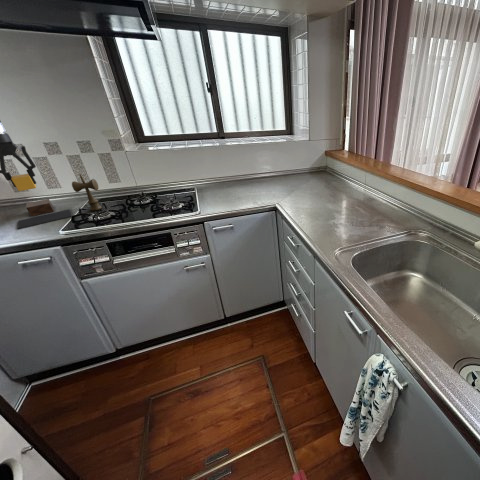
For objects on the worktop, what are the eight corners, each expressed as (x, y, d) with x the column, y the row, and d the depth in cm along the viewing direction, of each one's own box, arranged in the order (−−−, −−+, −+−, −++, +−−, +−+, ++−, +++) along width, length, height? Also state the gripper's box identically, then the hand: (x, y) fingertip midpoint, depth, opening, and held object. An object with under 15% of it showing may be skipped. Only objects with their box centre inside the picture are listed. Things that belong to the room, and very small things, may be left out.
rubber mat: (17, 229, 127) (17, 228, 127) (19, 221, 134) (18, 220, 134) (71, 216, 138) (71, 215, 138) (69, 210, 146) (69, 209, 146)
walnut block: (31, 216, 139) (25, 207, 137) (31, 211, 145) (26, 203, 143) (54, 211, 145) (49, 203, 142) (53, 206, 150) (48, 198, 148)
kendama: (105, 210, 145) (89, 174, 135) (84, 213, 142) (65, 176, 132) (108, 206, 150) (92, 171, 140) (87, 209, 147) (70, 173, 137)
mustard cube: (18, 191, 125) (11, 178, 122) (19, 188, 129) (11, 176, 126) (36, 188, 128) (29, 175, 125) (36, 185, 132) (29, 173, 129)
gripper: (-40, 137, 108) (-4, 191, 120) (24, 132, 119) (52, 182, 131) (-37, 135, 113) (-2, 187, 125) (25, 130, 124) (51, 178, 136)
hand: (25, 184), depth 128 cm, fingers closed on mustard cube, 6 cm apart
